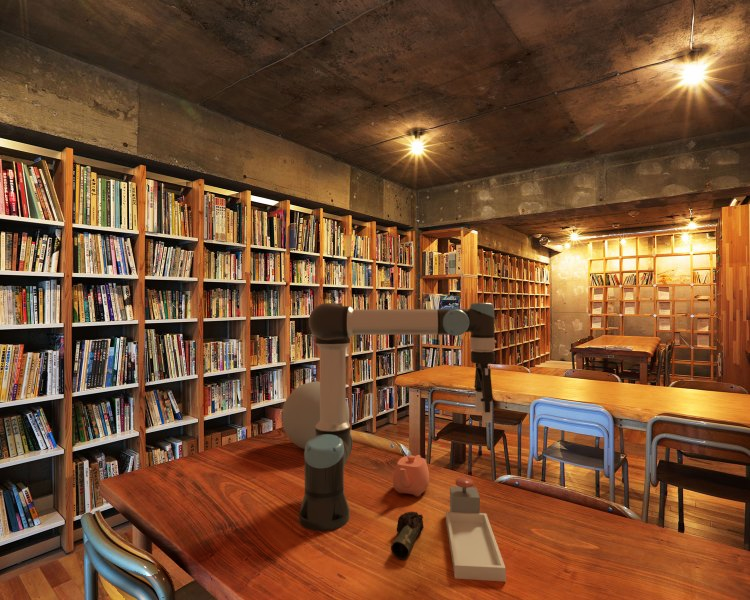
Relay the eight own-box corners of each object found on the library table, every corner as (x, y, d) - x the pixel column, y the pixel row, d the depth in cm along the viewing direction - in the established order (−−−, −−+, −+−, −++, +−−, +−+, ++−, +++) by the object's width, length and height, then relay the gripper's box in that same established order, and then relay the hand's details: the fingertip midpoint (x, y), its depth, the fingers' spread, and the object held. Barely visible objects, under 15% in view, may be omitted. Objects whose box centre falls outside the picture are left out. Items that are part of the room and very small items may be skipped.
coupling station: (454, 580, 98) (454, 532, 98) (444, 512, 130) (444, 475, 130) (505, 583, 97) (505, 534, 97) (482, 513, 129) (482, 477, 129)
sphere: (271, 458, 177) (271, 387, 177) (296, 436, 206) (295, 375, 207) (340, 462, 172) (340, 389, 172) (355, 439, 201) (355, 377, 202)
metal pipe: (408, 562, 104) (409, 539, 104) (383, 556, 106) (383, 533, 106) (426, 529, 120) (426, 509, 120) (403, 524, 123) (404, 504, 123)
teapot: (403, 478, 156) (403, 446, 156) (434, 483, 152) (434, 450, 152) (384, 501, 138) (384, 464, 138) (419, 508, 133) (419, 469, 133)
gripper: (502, 355, 123) (503, 427, 122) (487, 346, 147) (488, 407, 147) (476, 354, 123) (477, 427, 123) (465, 346, 148) (466, 407, 148)
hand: (483, 416), depth 135 cm, fingers open, 13 cm apart
